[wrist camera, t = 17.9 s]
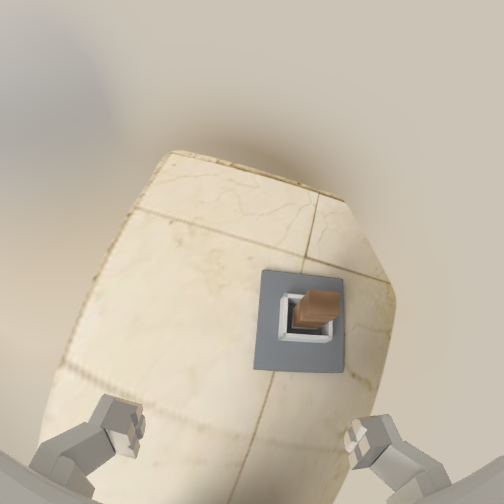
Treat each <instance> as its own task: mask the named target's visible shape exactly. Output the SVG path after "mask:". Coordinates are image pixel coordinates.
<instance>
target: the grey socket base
mask: <svg viewBox="0 0 504 504" xmlns="http://www.w3.org/2000/svg"><path fill="white" fill-rule="evenodd" d="M309 290H320V291H330V292H339V305H340V315H339V316H337V317H336V318H334V319H333V320H331V321H330V322H328V323H327V324H325V325H324V326H322V327H321V328H319V329H317V330H316V331H304V330H291V329H290V319H291V310H292V309H293V308H294V307H295V306H296V305H297V303H298V302H299V301H300V300H301V299H302V298H303V297H304V295H305V294H306V293H307V292H308V291H309ZM343 358H344V310H343V280H342V279H339V278H329V277H320V276H312V275H303V274H294V273H286V272H277V271H269V270H262V275H261V287H260V299H259V311H258V323H257V334H256V346H255V357H254V368H253V369H256V370H269V371H285V372H311V373H342V372H343Z"/></svg>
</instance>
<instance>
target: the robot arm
mask: <svg viewBox="0 0 504 504" xmlns="http://www.w3.org/2000/svg"><path fill="white" fill-rule="evenodd" d="M142 411H143V408H142V404H138V403H135V402H131V401H127V400H124V399H121V398H117V397H114V396H111V395H107V394H104V395H103V396H102V397H101V398H100V400H99V402H98V404H97V406H96V408H95V410H94V412H93V414H92V416H91V418H90V420H89V422H88V423H86V422H83V423H81V424H79V425H78V426H76V427H74V428H72V429H70V430H68V431H66V432H64V433H62V434H60V435H58V436H56V437H54V438H51V439H49V440H47V441H45V442H43V443H41V445H40V446H39V448H38V450H37V452H36V454H35V455H34V457H33V459H32V461H31V463H30V465H29V467H27V466H26V465H24V464H22V463H21V462H19V461H18V460H16V459H15V458H14V457H12V456H11V455H9V454H8V453H6V452H5V451H4V450H2V449H1V448H0V504H103V503H100V502H97V501H95V500H92V496H93V493H94V490H95V488H94V486H93V485H92V484H91V482H90V481H89V480H88V479H87V478H86V476H87V475H89V474H90V473H91V472H93V471H94V470H96V469H97V468H98V467H100V466H101V465H102V464H104V463H105V462H106V461H108V460H109V459H110V458H112V457H113V456H114V455H116V454H120V455H123V456H127V457H131V458H135V459H136V457H137V454H138V451H139V448H140V444H139V441H138V440H140V439H141V438H143V435H144V432H145V416H143V415H142ZM351 424H352V427H351V428H350V429H348V430H347V432H346V433H345V436H344V446H345V450H346V451H348V452H349V453H350V454H349V457H348V460H349V463H350V467H351V469H352V470H354V469H361V468H367V467H370V469H371V470H372V471H373V472H374V473H375V474H376V475H377V476H378V477H379V478H381V479H382V480H383V481H384V482H385V483H386V484H387V485H388V486H389V487H390V488H392V489H393V490H394V491H395V493H394V494H393V495H392V496H390V497H389V498H388V499H387V500H386V501H387V504H504V456H500V457H498V458H496V459H495V460H493V461H492V462H490V463H489V464H487V465H486V466H484V467H482V468H481V469H480V470H478V471H476V472H474V473H472V474H471V475H469V476H467V477H465V478H464V479H462V480H460V481H458V482H456V483H454V484H452V483H451V481H450V479H449V477H448V475H447V473H446V471H445V469H444V467H443V465H442V464H441V463H440V462H438V461H436V460H435V459H433V458H431V457H430V456H428V455H427V454H425V453H424V452H422V451H420V450H419V449H417V448H416V447H414V446H413V445H411V444H409V443H408V442H406V441H402V439H401V437H400V435H399V432H398V430H397V428H396V427H395V424H394V422H393V420H392V418H391V416H390V415H389V414H386V415H379V416H370V417H362V418H356V419H354V420H353V422H352V423H351ZM115 453H116V454H115Z"/></svg>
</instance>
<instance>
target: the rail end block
mask: <svg viewBox="0 0 504 504" xmlns="http://www.w3.org/2000/svg"><path fill="white" fill-rule="evenodd" d="M339 315H340V305H339V292H330V291H320V290H309V291H308V292H307V293H306V294H305V295H304V297H303V298H302V299H301V300H300V301H299V302H298V303H297V305H296V306H295V307H294V308H293V309H292V310H291V319H290V329H291V330H304V331H316V330H317V329H319V328H321V327H322V326H324V325H325V324H327V323H328V322H330V321H331V320H333V319H334V318H336V317H337V316H339Z"/></svg>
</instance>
